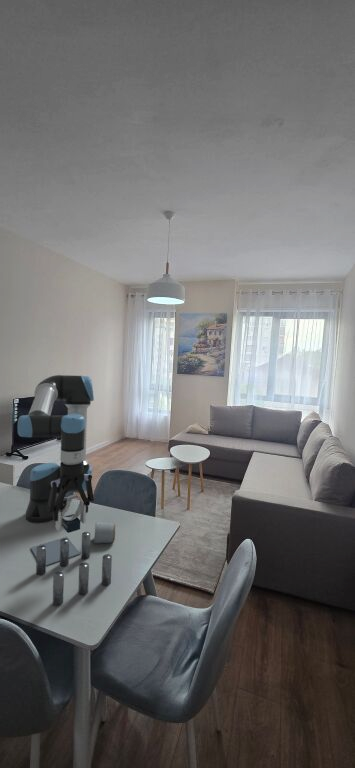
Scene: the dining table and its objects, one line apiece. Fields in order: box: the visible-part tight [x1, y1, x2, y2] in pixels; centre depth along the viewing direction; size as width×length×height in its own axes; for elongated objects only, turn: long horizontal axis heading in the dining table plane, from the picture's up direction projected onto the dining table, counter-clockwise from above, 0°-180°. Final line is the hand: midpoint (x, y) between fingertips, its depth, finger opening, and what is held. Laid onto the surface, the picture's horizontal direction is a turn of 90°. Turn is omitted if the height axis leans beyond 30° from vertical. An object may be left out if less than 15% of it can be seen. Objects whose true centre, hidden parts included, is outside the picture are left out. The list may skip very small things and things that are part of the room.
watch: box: [59, 494, 83, 534], centre depth 115 cm, size 6×8×11 cm
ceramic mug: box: [93, 522, 116, 544], centre depth 137 cm, size 11×8×8 cm
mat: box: [30, 536, 81, 567], centre depth 127 cm, size 14×14×1 cm
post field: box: [35, 531, 113, 607], centre depth 113 cm, size 20×19×9 cm
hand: (70, 525), depth 115 cm, fingers closed on watch, 8 cm apart
